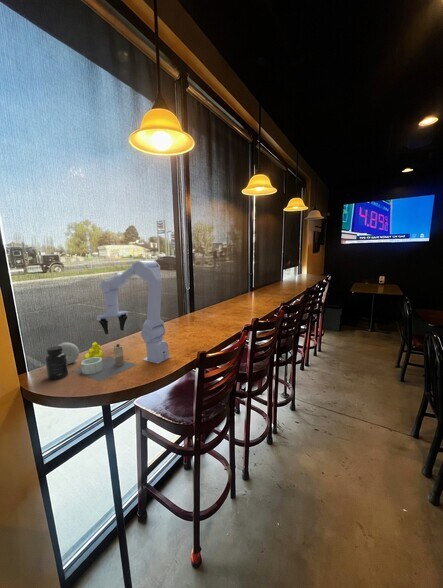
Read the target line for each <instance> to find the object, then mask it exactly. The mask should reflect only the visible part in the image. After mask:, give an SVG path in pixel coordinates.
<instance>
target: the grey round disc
mask: <svg viewBox="0 0 443 588" xmlns="http://www.w3.org/2000/svg"><path fill="white" fill-rule="evenodd" d="M57 346H62V350H63V351H62V352H63V353H64V352H65V351H68V352H69V353H70V355H69V356H66V359H67V365H70V364H74V363H75V362H76V361H77V360H78V359H79V356H80V349H79V348H78V346H77V345H76V344H74V343H72V342H67V341H66V342H61V343H60V344H58V345H57Z"/></svg>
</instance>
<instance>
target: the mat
mask: <svg viewBox="0 0 443 588" xmlns="http://www.w3.org/2000/svg"><path fill="white" fill-rule="evenodd" d="M102 362H103V370H101V371H100V372H98V373H95V374H89V375H86V374H83V373H82V367H79V368H76V369H74V370H72V371H71V372H73V373H75V374H78V375H81V376H84V377H87V378H89V379H92V380H95V381H98V382H104V381H105V380H107V379H109V378H112V377H114V376H115V375H117V374H120V373H122V372H125V371H127V370H128V369H130V368H133V367H135V366H137V365H138V363H134V362H130V361H127V360H124V365H120V366H116V364H115V357H112V356H108V357H105V358H102Z"/></svg>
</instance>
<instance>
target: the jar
mask: <svg viewBox="0 0 443 588" xmlns="http://www.w3.org/2000/svg"><path fill="white" fill-rule="evenodd" d="M102 359H103V358H102V357H92V358H88V359H85V358H84V359H83V360H81V363H80V364H81V365H80V366H81V367H80V368H82V373H83V374H86V375H89V374H95V373H98V372H100V371H101V370H103V362H102Z"/></svg>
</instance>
